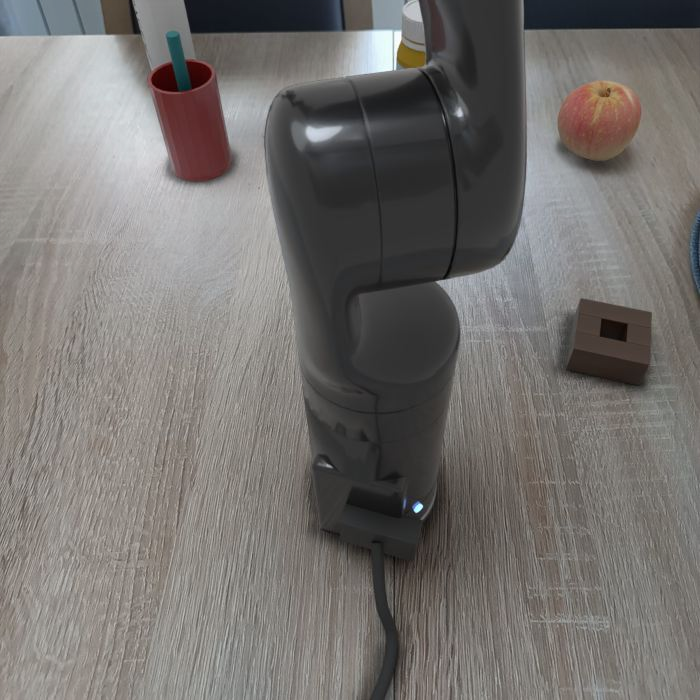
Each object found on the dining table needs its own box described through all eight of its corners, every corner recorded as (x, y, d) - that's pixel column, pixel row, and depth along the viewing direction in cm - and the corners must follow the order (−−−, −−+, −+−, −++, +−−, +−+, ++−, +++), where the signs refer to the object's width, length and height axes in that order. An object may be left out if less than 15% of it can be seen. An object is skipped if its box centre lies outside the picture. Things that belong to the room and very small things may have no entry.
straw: (204, 163, 78) (175, 37, 66) (193, 162, 78) (162, 36, 66) (209, 157, 79) (181, 31, 67) (199, 155, 79) (169, 29, 67)
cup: (216, 186, 76) (196, 98, 67) (161, 175, 77) (135, 88, 69) (241, 151, 80) (226, 64, 72) (188, 141, 82) (167, 55, 73)
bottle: (384, 141, 81) (387, 17, 69) (408, 113, 84) (414, -10, 73) (437, 156, 78) (448, 30, 67) (459, 126, 82) (473, 2, 71)
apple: (611, 182, 75) (633, 118, 68) (539, 156, 78) (553, 94, 72) (638, 144, 79) (661, 82, 73) (568, 122, 82) (584, 60, 76)
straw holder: (638, 385, 57) (650, 364, 54) (565, 369, 58) (573, 348, 56) (641, 333, 60) (652, 311, 58) (572, 319, 62) (580, 297, 59)
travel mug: (205, 67, 93) (172, -95, 78) (193, 92, 89) (156, -75, 73) (162, 66, 94) (121, -96, 78) (148, 90, 90) (102, -76, 74)
